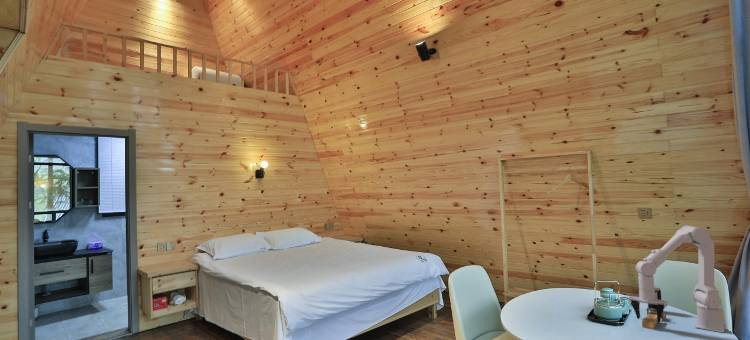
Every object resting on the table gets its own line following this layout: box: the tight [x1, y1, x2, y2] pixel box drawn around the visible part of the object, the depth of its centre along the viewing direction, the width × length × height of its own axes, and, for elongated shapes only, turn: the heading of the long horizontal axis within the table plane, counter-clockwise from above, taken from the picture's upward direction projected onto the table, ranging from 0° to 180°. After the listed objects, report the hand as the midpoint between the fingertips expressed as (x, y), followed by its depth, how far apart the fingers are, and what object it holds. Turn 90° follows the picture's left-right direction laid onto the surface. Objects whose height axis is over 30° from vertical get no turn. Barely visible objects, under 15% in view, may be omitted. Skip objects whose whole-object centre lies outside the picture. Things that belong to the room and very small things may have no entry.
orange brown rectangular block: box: [641, 314, 660, 330], centre depth 186 cm, size 4×12×4 cm, turn 135°
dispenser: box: [646, 307, 667, 323], centre depth 194 cm, size 6×6×5 cm
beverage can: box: [647, 285, 662, 313], centre depth 204 cm, size 6×6×12 cm
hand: (648, 320), depth 183 cm, fingers open, 7 cm apart
